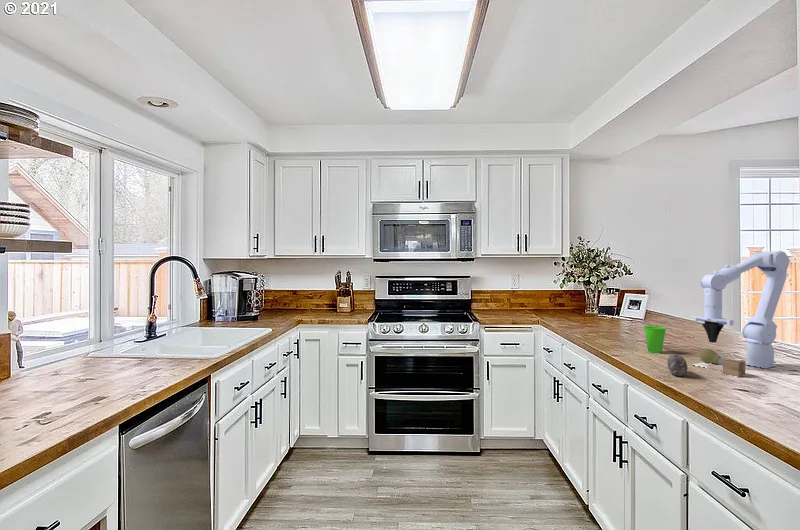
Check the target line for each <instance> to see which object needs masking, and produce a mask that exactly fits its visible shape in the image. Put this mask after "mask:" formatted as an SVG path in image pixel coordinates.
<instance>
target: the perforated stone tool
mask: <svg viewBox="0 0 800 530" xmlns="http://www.w3.org/2000/svg"><path fill="white" fill-rule="evenodd" d="M666 362H667V368H668V370H669V372H670V373H671V374H672V375H673V376H677V377H685V376H687V373H688V368H689V367H688V364H687V363H688V362H687V360H686V359H685V358H684V357H683V356H681V355H680V354H670V355H669V356H668V359H667V361H666Z"/></svg>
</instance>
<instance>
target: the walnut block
mask: <svg viewBox="0 0 800 530" xmlns="http://www.w3.org/2000/svg"><path fill="white" fill-rule="evenodd" d="M745 363H746V361H745V360H737V359H731V358H729V359H726V360H723V371H722V375H723V374H726V375H725V376H728V375H732V376H731V377H734V376H737V377H736V378H740V377H739V376H742V377H744V376H743V375H745V376H746V365H745Z"/></svg>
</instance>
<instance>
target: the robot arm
mask: <svg viewBox="0 0 800 530" xmlns="http://www.w3.org/2000/svg"><path fill="white" fill-rule="evenodd" d="M790 261H791V260H790V257H789V256H788V254H787V253H786V252H785V251H783V250H777V251H761V250H760V251H758V252H756V253H752V254H751V255H750V256H749V257H748V258H746V259H744V260H743V261H740V262H739V263H738V264H735V265H733V264H726V265H724V266H723V268H721V269H718V270H714V271H713V273H712V274H709V273H708V274H705V275H704V276H703V277H702V279H701V281H700V282H699V283H700V286H701V287H702V290H703V297H704V298H703V299H704V301H703V303H704V304H703V306H704V307H703V315H693V321H695V322H703V323H702V327H703V329H704V330H705V332H706V336H707V338H708V343H712V344H713V343H717V341H718V337H719V335H720V333H721V331H722V329H723V328H724V325H725V326H734V319H728V318H723V290H725V289H726V287H727V285H728V284H730V283H732V282H735V281H736V280H737V279H740V277H741V274H743V273H745V272H747V271H749V270H752V269H754V268H757V269H759V270H760V271H761V272H762V273H763V274H764V275H765V276H766V277H767V278H766V280H765V281H766V282H765V285H764V287H763V290H762V293H761V296H760V299H759V301H758V305H757V307H756V311H755V313H754V316H752V317H750V318H748V319H747V321H746V323H745V324H744V325H743V327H742V329H741V334H742V336H743V338H745V341H746V346H747V347H746V361H745V366H748V365H750V367H754V366H756V368H760V367H761V369H768V368H773V367H776V366H778V365H777V364H776V363H775V348H774V346H773V345H772V344H773V342H775V340H776V338H777V329H778V328H777V327H778V326H777V324H776V323H775V322H774V321H773V318H774V315H775V312H776V310H777V306H778V304H779V301H780V298H781V295H782V292H783V290H784V286H785V284H786V280H787V278H788V277H787V275H788V268H789V265H790Z"/></svg>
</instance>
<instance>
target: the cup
mask: <svg viewBox="0 0 800 530" xmlns="http://www.w3.org/2000/svg"><path fill="white" fill-rule="evenodd" d="M643 329H644V335H645V341H646V347H647V351H648V353H649V352H650V354H655V353H660V354H662V351H663V347H664V342H665V336H666V330H667V327H665V326H657V325H644V326H643Z"/></svg>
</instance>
